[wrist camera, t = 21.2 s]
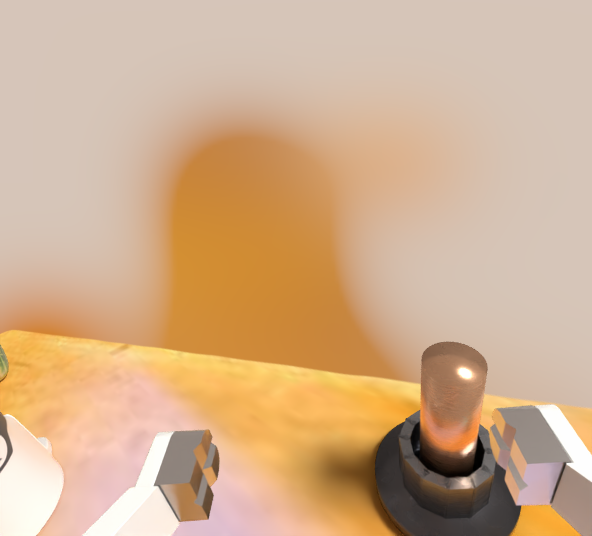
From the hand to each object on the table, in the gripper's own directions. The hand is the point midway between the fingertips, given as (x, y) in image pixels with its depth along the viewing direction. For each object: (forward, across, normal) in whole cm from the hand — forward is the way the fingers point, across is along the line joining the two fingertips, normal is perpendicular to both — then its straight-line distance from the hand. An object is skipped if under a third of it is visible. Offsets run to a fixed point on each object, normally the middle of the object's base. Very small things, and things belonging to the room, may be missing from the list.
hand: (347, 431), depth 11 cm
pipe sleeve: (+16, +9, -32) cm, 37 cm away
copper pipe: (+16, +9, -30) cm, 36 cm away
